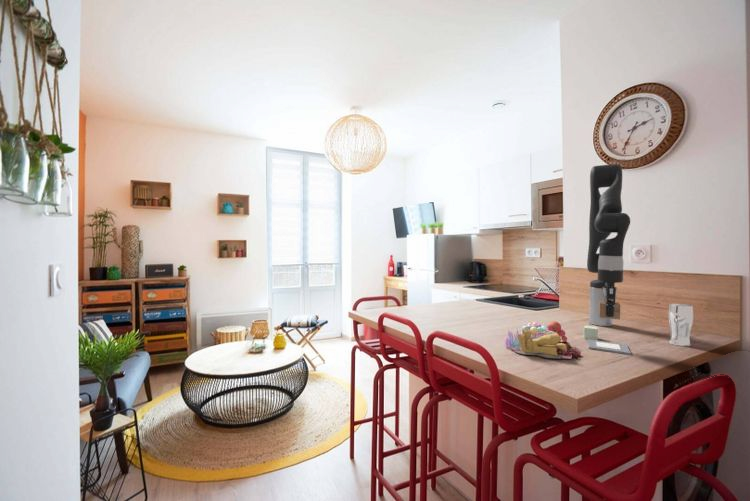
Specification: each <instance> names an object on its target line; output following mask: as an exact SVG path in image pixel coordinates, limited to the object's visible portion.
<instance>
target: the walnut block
mask: <svg viewBox="0 0 750 501" xmlns="http://www.w3.org/2000/svg"><path fill="white" fill-rule="evenodd" d="M615 303H616V304H615V305H614V316H613V317H607V316H606V302H603V301H599V317H601V318H611V319H613V320H621V304H620V303H619V302H615Z"/></svg>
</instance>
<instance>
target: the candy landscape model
mask: <svg viewBox="0 0 750 501" xmlns="http://www.w3.org/2000/svg"><path fill="white" fill-rule="evenodd" d="M520 331H521V332H519V330H517V331H516V333H513V331H512V330H508V331H507V337H506V338H505V341H504V345H505V348H506V349H507V348H508V349H509V351H510V350H513V351H514V352H515V353H517V354H520V355H526V356H527V355H530V356H539V357H543V358H548V359H567V360H568V359H569V360H570V359H571V360H572V358H577V359H579V357H581V356H582V352H581V351H580V350H578V349H575V347H574V346H573V345H571V344H570V342H569V341H568V337H567V335H566V331H565V330H564V329H562V325H561V323H559V322H557V321H552V322H550V323H549V324H547V325H542V324H541V323H538V322H535V321H534V322H528V323H527V325H523V326H522V328H521V330H520ZM578 356H579V357H578Z"/></svg>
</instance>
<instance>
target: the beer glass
mask: <svg viewBox="0 0 750 501" xmlns="http://www.w3.org/2000/svg"><path fill="white" fill-rule="evenodd" d="M668 307H669V308H668V322H669V323H668V324H669V329H670V336H669V337H670V338H669V341H668V342H669V344H671V345H675V346H680V347H691V340H690V334H691V330H692V327H693V323H694V309H693V308H694V307H693V305H691V304H686V303H673V302H672V303H669V306H668Z"/></svg>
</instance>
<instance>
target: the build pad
mask: <svg viewBox="0 0 750 501" xmlns="http://www.w3.org/2000/svg"><path fill="white" fill-rule="evenodd" d="M587 343H588V344H587V345H588V349H589V350H595V351H596V350H597V351H603V352H609V353H616V354H622V355H629V356H630V355H632V354H631V350H630V349H629V347H628V345H627V344H625V343H619V342H612V341H611V342H610V341H603V340H598V341H597V340H590V339H587Z"/></svg>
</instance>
